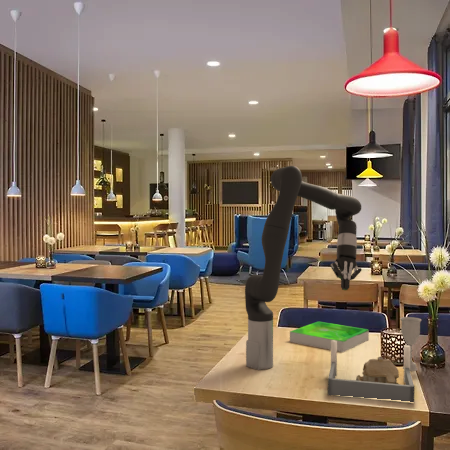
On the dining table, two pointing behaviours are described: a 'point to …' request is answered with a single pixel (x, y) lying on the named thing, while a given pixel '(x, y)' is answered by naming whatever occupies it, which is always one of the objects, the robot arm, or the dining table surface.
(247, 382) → the dining table surface
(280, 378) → the dining table surface
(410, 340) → the chalice
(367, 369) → the ceramic model
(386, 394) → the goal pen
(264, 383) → the dining table surface
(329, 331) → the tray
